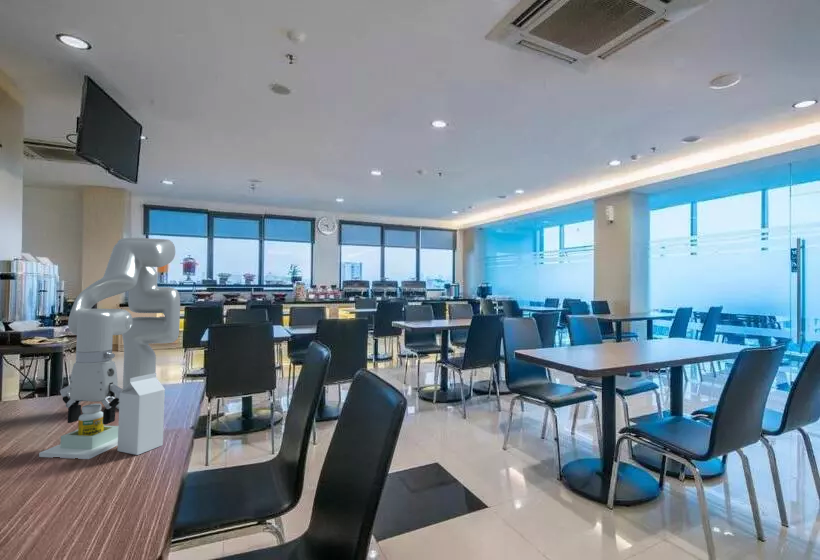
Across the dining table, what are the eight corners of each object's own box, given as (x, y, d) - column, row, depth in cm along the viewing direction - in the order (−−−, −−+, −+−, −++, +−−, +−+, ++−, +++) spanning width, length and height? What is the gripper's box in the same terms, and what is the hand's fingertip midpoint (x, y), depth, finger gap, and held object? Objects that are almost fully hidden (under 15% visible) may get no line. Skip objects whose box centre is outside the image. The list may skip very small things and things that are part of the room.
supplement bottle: (102, 436, 108) (103, 401, 109) (105, 442, 105) (106, 405, 105) (76, 441, 105) (77, 405, 105) (78, 447, 101) (80, 409, 101)
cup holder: (91, 435, 112) (92, 420, 112) (135, 436, 111) (135, 422, 112) (39, 456, 97) (39, 440, 97) (88, 459, 96) (89, 442, 97)
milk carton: (163, 445, 106) (165, 374, 106) (136, 455, 99) (140, 379, 99) (143, 442, 108) (146, 372, 108) (117, 451, 101) (120, 377, 102)
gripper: (135, 355, 108) (133, 418, 108) (76, 354, 109) (73, 416, 109) (113, 360, 101) (110, 428, 100) (50, 358, 102) (46, 425, 101)
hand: (91, 422), depth 105 cm, fingers open, 9 cm apart
